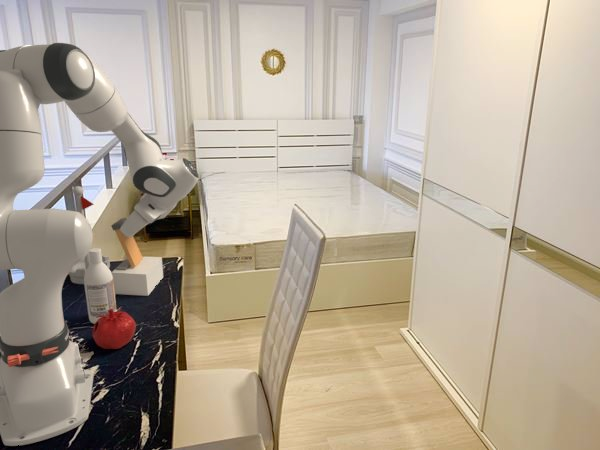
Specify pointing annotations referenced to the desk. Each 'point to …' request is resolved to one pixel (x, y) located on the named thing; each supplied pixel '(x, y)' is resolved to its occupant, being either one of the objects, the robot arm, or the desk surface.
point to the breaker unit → (137, 276)
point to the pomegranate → (114, 329)
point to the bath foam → (98, 287)
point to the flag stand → (81, 267)
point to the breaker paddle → (128, 244)
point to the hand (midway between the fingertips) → (127, 233)
